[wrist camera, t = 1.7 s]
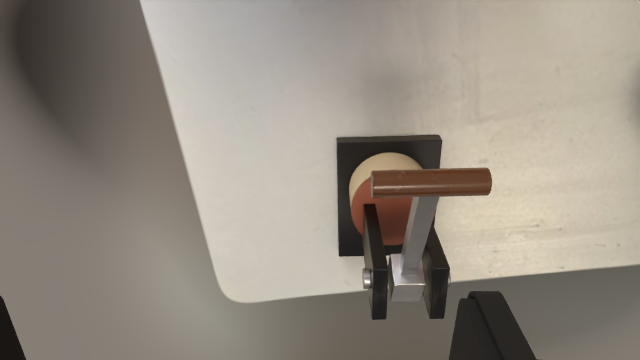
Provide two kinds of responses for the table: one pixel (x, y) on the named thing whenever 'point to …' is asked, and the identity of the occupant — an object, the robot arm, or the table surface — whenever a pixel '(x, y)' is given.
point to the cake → (388, 209)
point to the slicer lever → (421, 216)
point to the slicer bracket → (371, 242)
